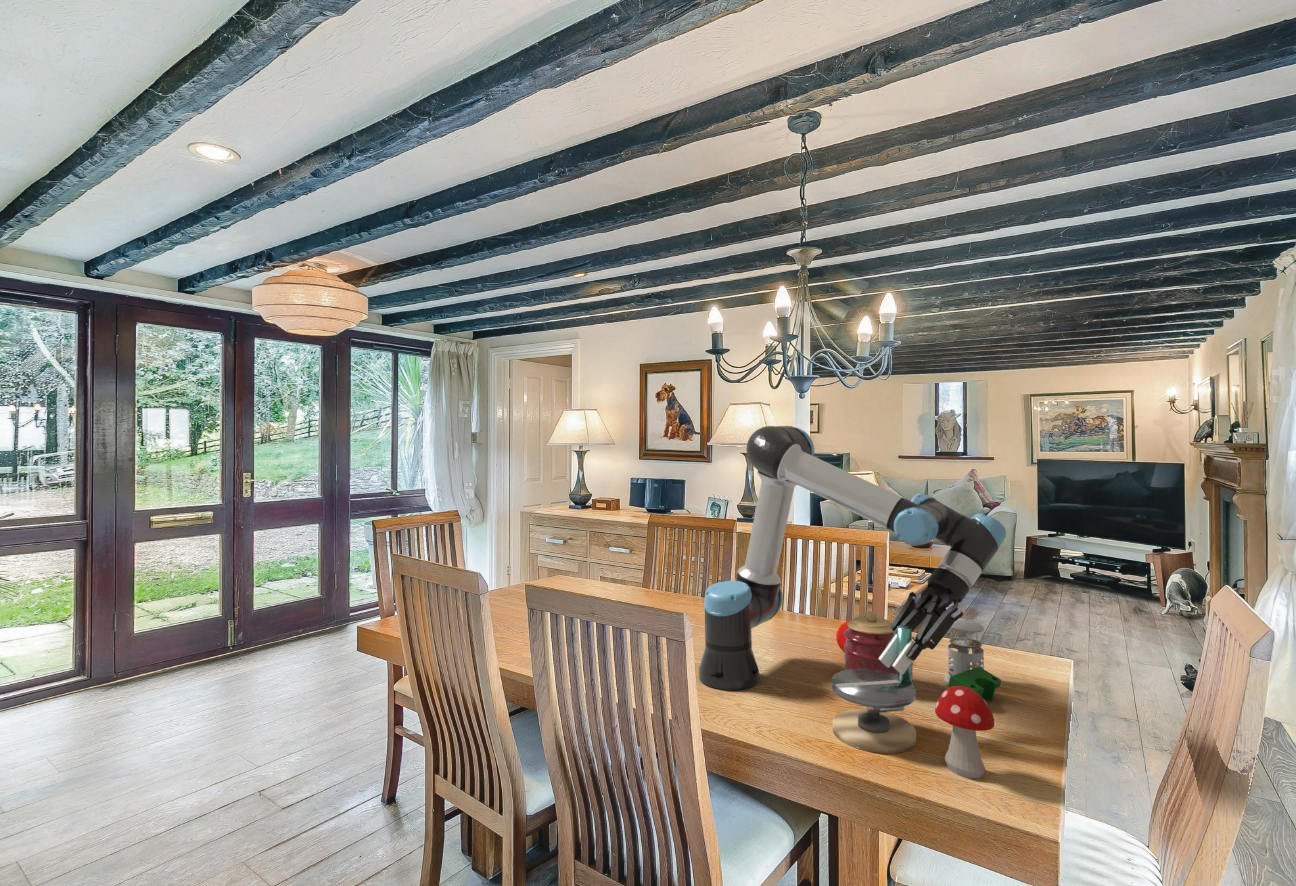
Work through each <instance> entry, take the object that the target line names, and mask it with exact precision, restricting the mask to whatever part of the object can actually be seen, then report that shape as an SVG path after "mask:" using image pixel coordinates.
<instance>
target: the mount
mask: <svg viewBox="0 0 1296 886" xmlns="http://www.w3.org/2000/svg"><path fill="white" fill-rule="evenodd" d="M832 732H833V734H834V736H835V737H836V738H837V739H838V740H839V741H840V742H842V743H844V744H846V745H848V746H850V747H852V748H855V749H858V750H861V751H864V752H869V753H874V752H876V753H875V754H887V755H889V754H897V753H898V754H899V753H904V752H907V751H909V750H911V749H913V748H914V747H915V746H916V744H917V729H916V728H915V726H914V725H913V724H911V723H910V722H909V721H908V720H906V719H905V718H903V717H900V716H898V715H896V714H893V713H891V712H880V719H879V720H871V719H869V718H867V708H857V709H855V708H854V709H853V708H852V709H849V710H848V709H847V710H845V711H841V712H839V713H837V714H836V715H834V717H833V718H832Z"/></svg>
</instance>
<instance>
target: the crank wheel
mask: <svg viewBox="0 0 1296 886" xmlns="http://www.w3.org/2000/svg"><path fill="white" fill-rule="evenodd" d="M912 637H913V632H912V628H911V627H909V626H897V658H898V656H899V655H900V653H901V652H902V651H903V649H904V648H905V646H906V645H907V644H908V642H909V641H910V640H912V641H913V639H912ZM913 677H914V676H913V662H912V663H911V664H910V665H909V667H908V668H907V670H906V671H905V673H904V674H903V675H902V674H900V673H899V672H898V675H897V674H894V673H890V672H886V671H881V670H875V669H849V670H845V669H843V670H841V671H838V672H836V673H835V674H833V676H832V677H831V690H832V691H833V693H834V694H835V695H837V697H839V698H841V699H843V700H845V701H847V702H849V703H852V704H855V705H859V706H863V707H866V709H867V718H869V719H871V720H879V719H880V712H887V713H891V712H902V711H904V710H905V707H906V706H909V705H911V704H913V703H914V702H915V701H916V698H917V697H916V696H917V694H916V693H917V692H916V691H917V690H916V688H917V687H916V686H915V684H914V682H913Z"/></svg>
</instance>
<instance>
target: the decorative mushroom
mask: <svg viewBox="0 0 1296 886" xmlns="http://www.w3.org/2000/svg"><path fill="white" fill-rule="evenodd" d="M947 688H948V687H947ZM947 688H946V689H944V690H943V692H942V693H941V694H940V695H939V698H938V699H937V701H936V703H935V706H934V707H935V709H934V714H935V715H936V717H938V718H939V720H941V721H942V722H945V723H947V724H949V725H951V726H952V732H951V734H950V740H949V741H950V742H949V745H948V749H947V751H946V752H945V755H944V760H945V764H946V766H947V768H948V769H949V770H950V771H951V772H952V773H954V774H955V775H958V776H960V775H961V776H960V777H963V778H966V777H967V779H971V778H974V779H973V780H979V778H980V779H982V778H983V776H984V774H985V772H986V766H985V765H984V764H985V763H984V762H983V759H982V757H981V753H980V748H979V743H978V738H977V732H978V731H979V732H980V731H981V732H983V731H984V732H985V731H989V730H992V729H994V728H995V718H994V715H993V712H992V710H991V709H990V708H989V705H988V703H987V701H986V699H985V698H983V697H981V696H980V695H979V694H978V693H977V692H975V691H974V690H972V689H970V688H967V687H963V686H953V687H950V688H948V689H947ZM975 778H977V779H975Z"/></svg>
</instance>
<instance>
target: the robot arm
mask: <svg viewBox="0 0 1296 886" xmlns="http://www.w3.org/2000/svg"><path fill="white" fill-rule="evenodd" d="M746 456H747V459H748V461H749V463H750V464H751V466H753V467H754V468H755V469H756V470H757V475H758V476H759V478H760V480H761V482H760V488H759V492H758V498H757V503H756V506H755V507H756V508H755V513H754V518H753V521H752V528H751V533H750V537H749V542H748V548H747V553H746V558H745V563H744V565H743V566H741V567H739V568H738V569H737V573H736V577H735V580H725V581H722V582H721V581H718V582H715V583H713V584H711V585H709V586H708V587H707V589H706V590H705V593H704V600H703V607H704V634H705V635H704V639H705V647H704V650H703V654H702V657H701V661H700V664H699V667H698V679H699V681H700V682H701V683H702V684H704V685H705V686H707V687H710V688H714V689H718V690H723V691H724V690H728V691H732V690H733V691H735V690H736V691H737V690H745V689H750V688H752V687H754V686H756V685H757V684H758V683H759V682H760V670H759V666H758V663H757V660H756V657H755V654H754V651H753V648H752V647H753V646H752V644H753V643H752V642H753V641H752V629H754V628H755V627H757V626H759V625H762V624H763V623H766V622H769V621H770V620H772V619H773V618H775V616H776V615H777V614H778V613H779V612H780V610H781V608H782V606H783V602H784V596H783V595H784V594H783V591H782V589H781V583H782V581H781V577H780V576H779V574H778V567H779V563H780V557H781V553H782V547H783V543H784V538H785V533H786V529H787V524H788V520H789V515H790V510H791V505H792V499H793V496H794V490H795V488H796V486H799V487H801V488H803V489H806V490H807V491H809V492H812V493H813V494H815V495H817V496H819V497H821V498H823V499H826V500H828V501H830V502H832V503H834V504H836V505H838V506H840V507H842V508H844V509H846V510H848V511H850V512H852V513H854V514H856V515H858V516H860V517H861V518H864V519H866V520H869V521H871V522H872V523H874V524H876V525H878V526H881V527H883V528H884V529H886V530H889V531H890V532H892V533H894V534H895V535H896V537H897V538H898V539H899V540H900V541H901V542H902V543H904V544H905V545H908V546H914V547H915V546H922V545H927V544H928V543H931V542H933V540H934V539H936V540H937V541H939V542H940V543H942V544H944V545H946V546H948V547H950V548H949V549H948V551H947V553H946V554H945V555H944V556H943V558H942V559H941V560H940V562H939V563H938V565H937V568H935V569H934V570H933V572H932V573H931V574H930V576H929V577H928V578H927V587H926V588H924V590H923V591H921V593H915V592H914V591H911V592H909V594H908V597H907V600H906V602H905V603H904V605H903V606H902V608H901V610H900V611H899V612H898V614H897V615H896V617H895V619H894V620H893V621H892V625H891V626H890V628H891V629H892V630H893V632H894V635H893V637H892V638H891V640H890V641H889V642H888V644H887V647H886V649H885V650H884V652H883V653H882V654H881V656H880V657H879V660H880V661H881V662H882V663H883V664H884V665H885V666H886V667H888V668H889V667H890V666H891V664H892V663H893V661H894V660H895V659H896V657H897V626H909V627H911V628H912V633H913V632H914V631H915V630H916V629H917V628H918V626H919V625H920V624H921V626H920V628H919V630H918V632H917V634H916V636H912V640H910V641H909V642H908V644H907V645H906V646H905V648H904V649H903V651H902V652H901V653H900V655H899V656H898V658H897V659H896V660H895V662H894V663H893V665H892V666H893V667H894V668H895V669H896V670H897V671H898V672H899V673H900V674H902V675H903V674H904V673H905V671H906V670H907V668H908V667H909V665H910V664H911V663H912V664H913V662H914V661H916V660H917V658H918V657H919V655H920V654H921V653H922V651H924V650H926V649H930V650H934V649H935V648H937V646H938V644H939V643H940V642H941V641H942V639H943V638H944V636H945V635H946V634H947V633H948V632H949V630H950V629H951V628H950V627H951V626H952V625H953V624H954V622H955V621H956V620H958V619H960V618H962V617H963V615H964V613H963V611H962V610H961V609H960V608H959V607H958V606H957V604H960V603H962V602H963V601H964V597H965V598H966V597H967V594H968V593H969V592H970V588H971V587H972V588H973V586H974V584H975V583H976V581H977V580H978V578H979V577H980V576H981V574H982V573H983V571H984V570H985V569H986V567H987V566H988V565H989V563H990V561H991V560H992V559H993V558H994V556H995V555H996V553H997V552H998V550H999V549H1000V548H1001V545H1002V544H1003V542H1005V541H1004V540H1005V539H1006V537H1007V529H1006V527H1005V526H1004V524H1003V523H1001V522H1000V521H999V520H998V519H996V518H995V517H992V516H991V515H986V514H985V513H976V514H974V515H973V516H971V517H968V516H966V515H964V514H961V513H960V512H958V511H956V510H955V509H952V508H951V507H950V506H948V505H946V504H944V503H943V502H941V501H939V500H937V499H936V498H935V497H931V496H929V495H927V494H925V493H923V492H919V493H917V494H915V495H914V496H913V497H912V498H911V500H909V499H906V498H904V497H903V496H901V495H898V494H896V493H894V492H892V491H890V490H888V489H885V488H883V487H881V486H879V485H877V484H874V483H872V482H870V481H868V480H866V479H864V478H861V477H859V476H858V475H855V474H853V473H850V472H848V471H846V470H845V469H843V468H839V466H835V465H834V464H831V463H829V462H827V461H824V460H823V459H820V458H818V457H816V456H815V447H814V442H813V439H812V437H810V435H809V434H808V433H807V432H806V431H805V430H804V429H801V428H799V427H795V426H789V425H780V426H779V425H778V426H777V425H776V426H774V425H767V426H763V427H760V428H758V429H756V430H755V431H754V432H752V434H751V435H750V437H749V438H748V440H747V444H746Z"/></svg>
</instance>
